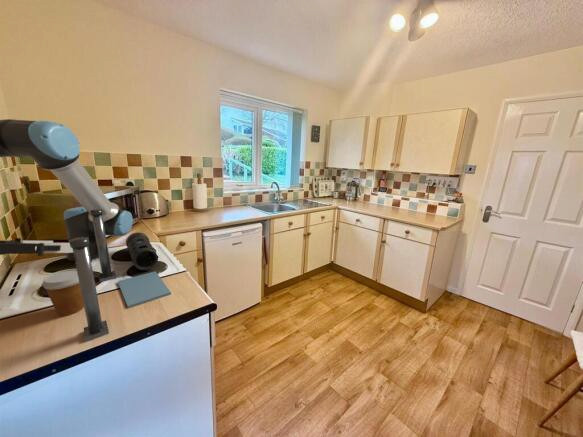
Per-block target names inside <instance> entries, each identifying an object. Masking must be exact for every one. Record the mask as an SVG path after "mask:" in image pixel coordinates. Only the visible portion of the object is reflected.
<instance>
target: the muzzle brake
mask: <svg viewBox="0 0 583 437" xmlns="http://www.w3.org/2000/svg"><path fill="white" fill-rule="evenodd" d="M125 245H126V248H127V250H128V251H129V256H130V257H131V261H132V263H133V266H134V267H135V269H138V270H141V271H145V272H148V270H150V269H152V268H154V267H156V265H157V263H158V260H159V257H158V254H157V252H156V251H155V249H154V246H153V245H152V243H151V242H150V239H149V237H148V236H147V235H146V234H145V233H142V232H138V231H137V232H134V233H131V234H129V235H128V236H127V238H126V240H125Z"/></svg>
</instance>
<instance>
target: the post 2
mask: <svg viewBox="0 0 583 437" xmlns="http://www.w3.org/2000/svg"><path fill="white" fill-rule="evenodd" d="M90 213H91V215H92V219H93V225H94V231H95V236H96V242H97V248H98V254H99V257H98V259H99V263H100V266H99V267H100V271H101V273H98V275H97V276H98V280H99V282H100V283H102V282H107V281H111V280H115V279H117V276H116V273H115V270H112V267H111V262H110V260H111V259H110V254H109V247H108V242H107V235H106V234H105V228H104V222H103V216H102V214H103V210H102V209H94V210H90Z"/></svg>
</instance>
